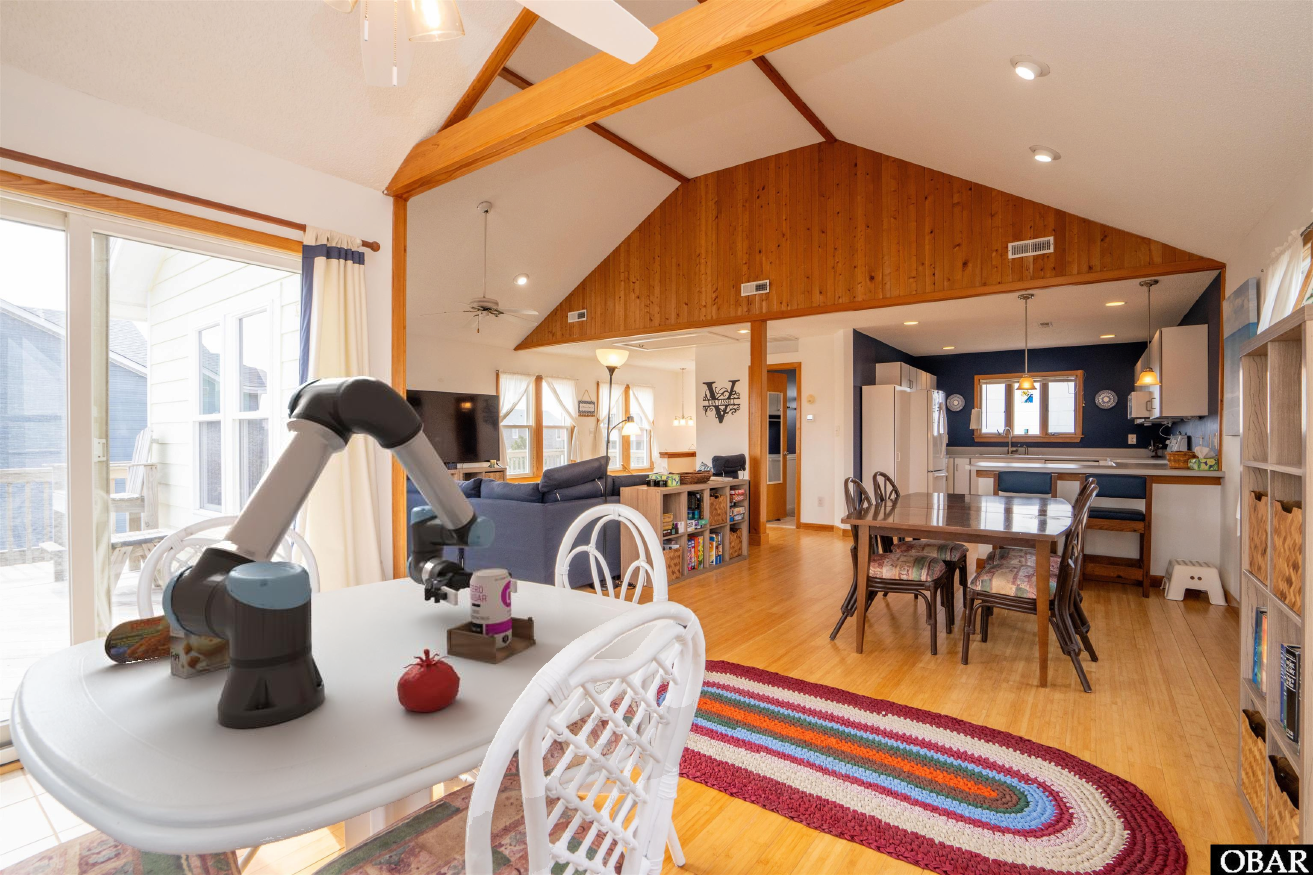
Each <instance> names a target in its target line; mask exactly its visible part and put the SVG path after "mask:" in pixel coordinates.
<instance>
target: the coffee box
mask: <svg viewBox="0 0 1313 875" xmlns="http://www.w3.org/2000/svg"><path fill="white" fill-rule="evenodd" d="M169 656H170V657H169V658H170V674H172V675H175V676H178V677H181V678H183V679H189V678H192V677H195V676H199V675H204V674H206V673H210V672H213V671H216V670H219V669H223V668H227V667H230V654H229V640H223V639H218V638H212V637H207V636H194V635H192V634H188V633H186V632H183V631H180V630H178V629H176V628H175V627H173V626H172V625H171V624H170V655H169Z"/></svg>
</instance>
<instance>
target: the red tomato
mask: <svg viewBox="0 0 1313 875" xmlns="http://www.w3.org/2000/svg"><path fill="white" fill-rule="evenodd" d="M430 652H431V651H430V649H428V648H425V649H423V654H424V658H423V657H422V656H415V655H414V656H413V658H414V659H416V660H417V659H419V661H417V662H415V663H410V664H408V665H406V666H403V667H402V668H403V669H407V668H408V669H407V670H406V671H405V672H404V673H403V674H402V675H401V676H400V677H399V679H398V682H397V687H396V688H397V689H396V690H397V698H398V702H399V703H400V705H401V706H402V707H403V708H405V709H406V710H408V711H411V712H419V713H431V712H437V711H439V710H441V709H443V708H446V707H448V706H449V705H450V704H452V703H453V702H454V701H455V700H456V698H457V696H458V694H459V691H460V690H459V689H460V684H461V683H460V682H461V677H460V676H459V674H458V673H457V671H456V670H455V668H454V667H453V666H452V665H451V664H450V663H448V662H446V661H445V660H443V659H444V658H445V659H446V658H449V656H445V655H444V656H441V657H440V655H441V654H440V653H434V654H433V656H431V655H430ZM436 656H437V657H439V658H437V659H435V658H436ZM409 667H410V668H409Z"/></svg>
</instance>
